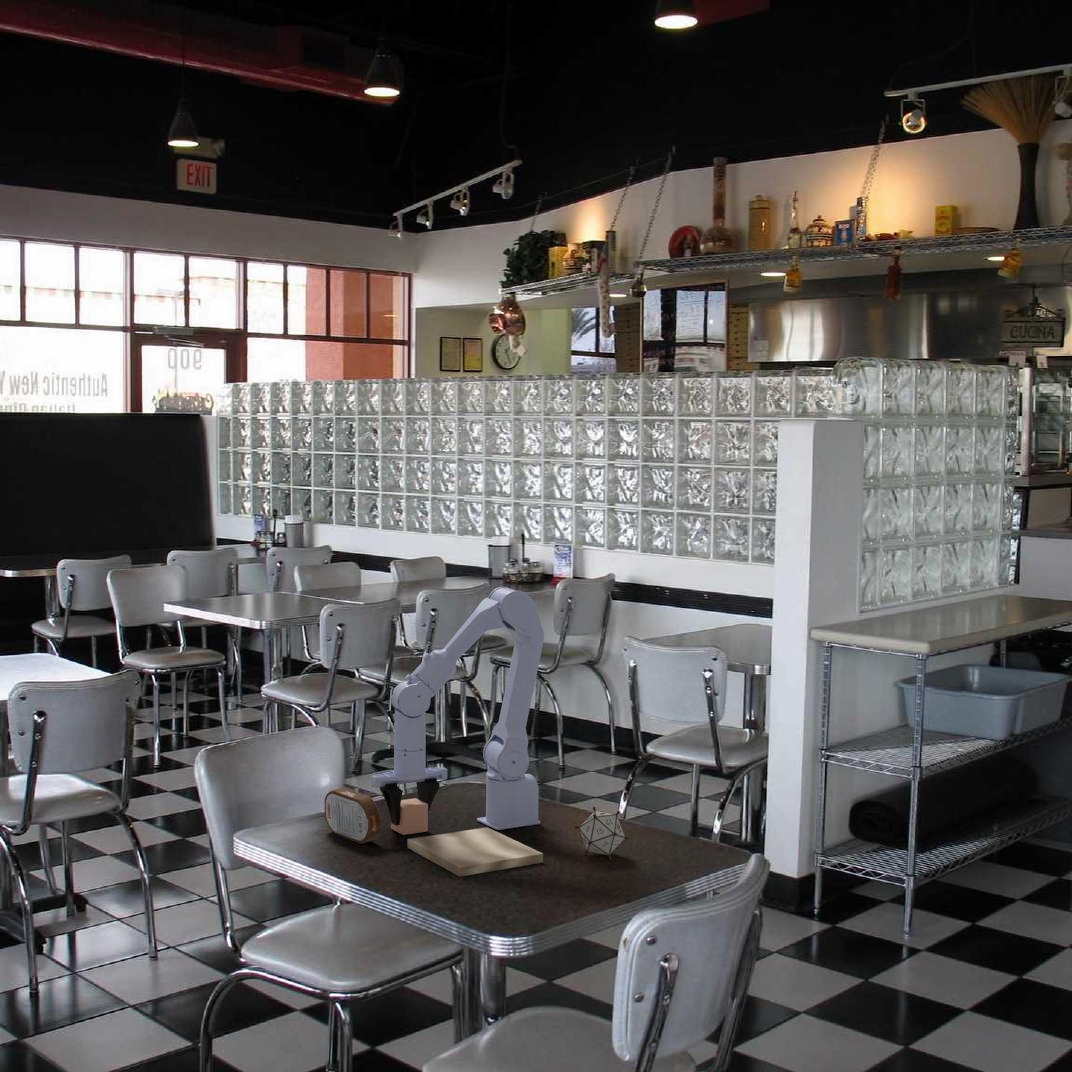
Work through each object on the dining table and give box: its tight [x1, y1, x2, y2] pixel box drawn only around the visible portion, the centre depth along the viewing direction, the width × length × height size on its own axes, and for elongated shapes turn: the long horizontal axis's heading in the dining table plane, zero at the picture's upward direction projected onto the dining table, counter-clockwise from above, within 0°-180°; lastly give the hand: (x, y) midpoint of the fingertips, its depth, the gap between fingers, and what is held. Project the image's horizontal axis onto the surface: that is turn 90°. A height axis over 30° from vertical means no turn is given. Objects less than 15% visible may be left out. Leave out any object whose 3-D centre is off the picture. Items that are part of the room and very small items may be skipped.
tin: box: [324, 786, 382, 845], centre depth 234 cm, size 15×3×8 cm, turn 42°
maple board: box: [407, 826, 544, 878], centre depth 225 cm, size 16×19×2 cm
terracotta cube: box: [390, 797, 429, 836], centre depth 239 cm, size 5×5×5 cm
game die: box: [573, 805, 631, 861], centre depth 225 cm, size 9×8×10 cm
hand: (409, 822), depth 239 cm, fingers closed on terracotta cube, 5 cm apart
